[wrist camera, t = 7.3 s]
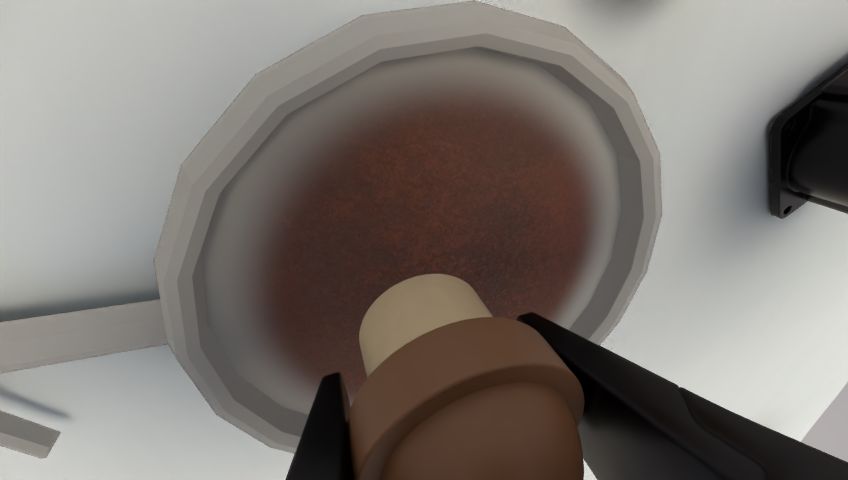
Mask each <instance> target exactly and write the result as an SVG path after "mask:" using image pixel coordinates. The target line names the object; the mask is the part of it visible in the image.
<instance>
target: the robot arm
mask: <svg viewBox="0 0 848 480" xmlns="http://www.w3.org/2000/svg"><path fill="white" fill-rule="evenodd" d="M770 149H771V215H773V216H776V217H779V218H781V219H782V218H785V217H787V216H788V215H790V214H791V213H792V212H794V211H795V210H796V209H798V208H799V207H800V206H802V205H803V204H805V203H806V202H807V201H810V202H813V203H816V204H819V205H822V206H825V207H829V208H832V209H835V210H838V211H841V212H844V213H847V214H848V64H847V65H846V66H844V67H843V68H842V69H840V70H839V71H838V72H836V73H835V74H834V75H832V76H831V77H830V78H829V79H827V80H826V81H825V82H823V83H822V84H821V85H819V86H818V87H817V88H815V89H814V90H813V91H812V92H810V93H809V94H808V95H806V96H805V97H804V98H802V99H801V100H800V101H798V102H797V103H796V104H795V105H793V106H792V107H791V108H789V109H788V110H787V111H785V112H784V113H783V114H781V115H780V116H779V117H778V118H777V119H776V120H775V122H774V123H773V125H772V127H771V131H770ZM517 321H519V322H522V323H524V324H526V325H529V326H530V327H532V328H533V329H535V330H536V331H537V332H538V333H539V334H540V335H541V336H542V337H543V338H544V339H545V340H546V341H547V343H548V344H549V345H550V346H551V348H552V349H553V350H554V351H555V352H556V354H557V355H558V356H559V357H560V358H561V360H562V361H563V362H564V363H565V364H566V366H567V367H568V368H569V369H570V370H571V372H572V373H573V374H574V375H575V376H576V378H577V379H578V381H579V382H580V384H581V386H582V390H583V393H584V410H583V414H582V417H581V420H580V423H579V425H578V427H577V430H578V433H579V436H580V441H581V446H582V451H583V458H584V460H585V461H586V463H587V465H588V466H589V468H590V469H591V471H592V472H593V474H594V475H595V477H596V478H597V480H848V462H846V461H843V460H841V459H839V458H836V457H834V456H832V455H829V454H827V453H825V452H822V451H820V450H818V449H816V448H813V447H811V446H808V445H806V444H804V443H802V442H799V441H797V440H795V439H792V438H790V437H788V436H785V435H783V434H781V433H778V432H776V431H774V430H771V429H769V428H767V427H764V426H762V425H760V424H758V423H756V422H753V421H751V420H749V419H747V418H744V417H742V416H740V415H738V414H735V413H733V412H731V411H729V410H727V409H725V408H723V407H721V406H719V405H717V404H714V403H712V402H710V401H708V400H706V399H704V398H702V397H700V396H698V395H696V394H694V393H692V392H690V391H688V390H686V389H684V388H682V387H680V388H679V387H678V385H676V384H674V383H672V382H670V381H668V380H666V379H664V378H662V377H660V376H658V375H656V374H654V373H653V372H651V371H649V370H647V369H645V368H643V367H641V366H639V365H637V364H635V363H633V362H631V361H629V360H627V359H625V358H623V357H621V356H619V355H617V354H615V353H613V352H611V351H609V350H607V349H605V348H603V347H601V346H599V345H597V344H595V343H593V342H591V341H589V340H588V339H586V338H584V337H582V336H580V335H578V334H576V333H574V332H572V331H570V330H568V329H566V328H564V327H562V326H560V325H558V324H556V323H554V322H552V321H550V320H548V319H546V318H544V317H542V316H540V315H538V314H536V313H534V312H529V313H525V314H522V315H519V316H518V317H517ZM350 408H351V406H350V401H349V397H348V393H347V390H346V387H345V384H344V380H343V377H342V374H341V373H340V372H335V373H332V374H329V375H325V376H324V377H323V378H322V379H321V382H320V385H319V387H318V390H317V393H316V396H315V399H314V401H313V404H312V407H311V410H310V413H309V415H308V418H307V421H306V424H305V427H304V429H303V432H302V435H301V438H300V441H299V443H298V446H297V449H296V452H295V455H294V457H293V460H292V463H291V466H290V469H289V471H288V474H287V477H286V480H354V475H353V468H352V461H351V454H350V444H349V434H348V425H347V421H348V416H349V411H350Z"/></svg>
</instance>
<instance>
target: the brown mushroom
mask: <svg viewBox="0 0 848 480" xmlns="http://www.w3.org/2000/svg"><path fill="white" fill-rule="evenodd" d="M359 342H360V348H361V352H362V357H363V361H364V366H365V370H366V375H367V379H366V381H365V382H364V383H363V385H362V386H361V387H360V389H359V391H358V393H357V394H356V396H355V398H354V400H353V403H352V406H351V408H350V411H349V416H348V421H347V425H348V434H349V444H350V454H351V461H352V468H353V475H354V480H583V477H584V464H583V451H582V446H581V441H580V436H579V433H578V430H577V427H578V425H579V423H580V420H581V417H582V414H583V410H584V393H583V390H582V386H581V384H580V382H579V381H578V379H577V378H576V376H575V375H574V374H573V373H572V372H571V370H570V369H569V368H568V367H567V366H566V364H565V363H564V362H563V361H562V360H561V358H560V357H559V356H558V355H557V354H556V352H555V351H554V350H553V349H552V348H551V346H550V345H549V344H548V343H547V341H546V340H545V339H544V338H543V337H542V336H541V335H540V334H539V333H538V332H537V331H536V330H535V329H533V328H532V327H530V326H529V325H526V324H524V323H522V322H519V321H516V320H512V319H508V318H500V317H493V316H492V314H491V313H490V312H489V310H488V309H487V307H486V306H485V305H484V303H483V302H482V300H481V299H480V298H479V296H478V295H477V293H476V292H475V291H474V289H473V288H472V287H471V286H470V285H469V284H468V283H466V282H465V281H463V280H461V279H459V278H457V277H454V276H450V275H445V274H424V275H420V276H415V277H412V278H409V279H406V280H404V281H402V282H400V283H398V284H396V285H394V286H392V287H391V288H389V289H388V290H387V291H385V292H384V293H383V294H382V295H381V296H379V297H378V298H377V299H376V300H375V302H374V303H373V304H372V305H371V306H370V308H369V309H368V311H367V312H366V314H365V316H364V318H363V321H362V324H361V327H360V332H359Z"/></svg>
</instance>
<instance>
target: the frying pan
mask: <svg viewBox="0 0 848 480" xmlns="http://www.w3.org/2000/svg"><path fill="white" fill-rule="evenodd" d="M661 217H662V198H661V168H660V153H659V150H658V148H657V146H656V144H655V141H654V139H653V137H652V134H651V132H650V130H649V127H648V125H647V123H646V120H645V118H644V116H643V114H642V111H641V109H640V107H639V104H638V102H637V100H636V97H635V95H634V93H633V92H632V90H631V89H630V88H629V86H628V85H627V83H626V82H625V80H624V79H623V78H622V77H621V76H620V75H619V74H617V73H616V72H615V71H614V70H613V69H612V68H611V67H610V66H608V65H607V64H606V63H605V62H604V61H603V60H602V59H601V58H599V57H598V56H597V55H596V54H595V53H594V52H593V51H592V50H590V49H589V48H588V47H587V46H586V45H585V44H584V43H583V42H581V41H580V40H579V39H578V38H577V37H576V36H575V35H574V34H572V33H571V32H570V31H569V30H568V29H567V28H566V27H563V26H560V25H556V24H553V23H550V22H546V21H543V20H539V19H536V18H532V17H529V16H525V15H522V14H519V13H515V12H512V11H508V10H505V9H501V8H498V7H495V6H491V5H488V4H484V3H481V2H477V1H468V2H461V3H453V4H445V5H437V6H430V7H422V8H414V9H406V10H398V11H391V12H383V13H375V14H367V15H362V16H360V17H358V18H357V19H355V20H353V21H351V22H349V23H348V24H346V25H344V26H342V27H340V28H339V29H337V30H335V31H333V32H331V33H330V34H328V35H326V36H324V37H322V38H320V39H319V40H317V41H315V42H313V43H311V44H310V45H308V46H306V47H304V48H302V49H301V50H299V51H297V52H295V53H293V54H292V55H290V56H288V57H286V58H284V59H283V60H281V61H279V62H277V63H275V64H274V65H272V66H270V67H268V68H266V69H265V70H263V71H261V72H259V73H257V74H256V75H255V76H254V77H253V78H252V79H251V80H250V82H249V83H248V84H247V85H246V87H245V88H244V89H243V90H242V91H241V93H240V94H239V95H238V96H237V98H236V99H235V100H234V101H233V102H232V104H231V105H230V106H229V107H228V109H227V110H226V111H225V112H224V113H223V115H222V116H221V117H220V118H219V119H218V121H217V122H216V123H215V124H214V126H213V127H212V128H211V129H210V130H209V132H208V133H207V134H206V135H205V137H204V138H203V139H202V140H201V141H200V143H199V144H198V145H197V146H196V148H195V149H194V150H193V151H192V152H191V154H190V155H189V156H188V157H187V158H186V160H185V161H184V162H183V163H182V165H181V167H180V171H179V174H178V178H177V181H176V185H175V188H174V192H173V195H172V199H171V202H170V205H169V209H168V212H167V216H166V219H165V223H164V226H163V230H162V233H161V237H160V240H159V244H158V247H157V251H156V254H155V258H154V266H155V272H156V278H157V283H158V289H159V295H160V299H158V300H151V301H144V302H137V303H130V304H123V305H116V306H109V307H102V308H95V309H88V310H81V311H74V312H67V313H60V314H53V315H46V316H39V317H32V318H25V319H18V320H12V321H5V322H0V373H5V372H11V371H16V370H22V369H28V368H33V367H39V366H45V365H51V364H56V363H62V362H68V361H73V360H79V359H85V358H91V357H96V356H102V355H108V354H113V353H119V352H125V351H130V350H136V349H142V348H148V347H153V346H159V345H165V344H169V346H170V347H171V349H172V351H173V353H174V355H175V357H176V359H177V360H178V362H179V363H180V365H181V366H182V367H183V369H184V370H185V372H186V373H187V374H188V376H189V377H190V379H191V380H192V381H193V383H194V384H195V386H196V387H197V388H198V390H199V391H200V393H201V394H202V395H203V397H204V398H205V400H206V401H207V402H208V404H209V405H210V406H211V408H212V409H213V411H214V412H215V413H216V415H218V416H219V417H221V418H223V419H224V420H226V421H228V422H229V423H231V424H233V425H234V426H236V427H237V428H239V429H241V430H242V431H244V432H246V433H247V434H249V435H251V436H252V437H254V438H256V439H257V440H259V441H261V442H262V443H264V444H265V445H267V446H269V447H271V448H275V449H279V450H283V451H287V452H291V453H295V452H296V449H297V446H298V443H299V441H300V438H301V435H302V432H303V429H304V427H305V424H306V421H307V418H308V415H309V413H310V410H311V407H312V404H313V401H314V399H315V396H316V393H317V390H318V387H319V385H320V382H321V379H322V378H323V377H324V376H325V375H329V374H332V373H335V372H340V373H341V374H342V377H343V380H344V384H345V387H346V390H347V393H348V397H349V401H350V406H352V403H353V400H354V398H355V396H356V394H357V393H358V391H359V389H360V387H361V386H362V385H363V383H364V382H365V381H366V379H367V375H366V370H365V366H364V361H363V357H362V352H361V348H360V342H359V332H360V327H361V324H362V321H363V318H364V316H365V314H366V312H367V311H368V309H369V308H370V306H371V305H372V304H373V303H374V302H375V300H376V299H377V298H378V297H379V296H381V295H382V294H383V293H384V292H385V291H387V290H388V289H389V288H391V287H392V286H394V285H396V284H398V283H400V282H402V281H404V280H406V279H409V278H412V277H415V276H420V275H424V274H445V275H450V276H454V277H457V278H459V279H461V280H463V281H465V282H466V283H468V284H469V285H470V286H471V287H472V288H473V289H474V291H475V292H476V293H477V295H478V296H479V298H480V299H481V300H482V302H483V303H484V305H485V306H486V307H487V309H488V310H489V312H490V313H491V314H492V316H493V317H500V318H508V319H512V320H516V321H517V317H518V316H519V315H522V314H525V313H529V312H534V313H536V314H538V315H540V316H542V317H544V318H546V319H548V320H550V321H552V322H554V323H556V324H558V325H560V326H562V327H564V328H566V329H568V330H570V331H572V332H574V333H576V334H578V335H580V336H582V337H584V338H586V339H588V340H589V341H591V342H593V343H595V344H597V345H599V346H600V344H601V343H602V342H603V341H604V340H605V338H606V337H607V336H608V335H609V334H610V332H611V331H612V330H613V329H614V328H615V326H616V325H617V324H618V323H619V322H620V320H621V318H622V316H623V314H624V312H625V311H626V309H627V307H628V305H629V303H630V301H631V300H632V298H633V296H634V294H635V292H636V290H637V288H638V287H639V285H640V283H641V281H642V279H643V277H644V276H645V274H646V272H647V269H648V265H649V261H650V258H651V254H652V250H653V247H654V243H655V239H656V235H657V232H658V228H659V224H660V221H661ZM60 433H61V432H59V431H56V430H53V429H51V428H48V427H45V426H42V425H39V424H37V423H34V422H31V421H28V420H25V419H23V418H20V417H17V416H14V415H11V414H9V413H6V412H3V411H0V446H2V447H6V448H9V449H12V450H15V451H19V452H22V453H25V454H28V455H32V456H35V457H38V458H41V459H42V458H46V457H47V456H48V454H49V452H50V450H51V449H52V447H53V445H54V443H55V442H56V440H57V438H58V437H59V435H60Z"/></svg>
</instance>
